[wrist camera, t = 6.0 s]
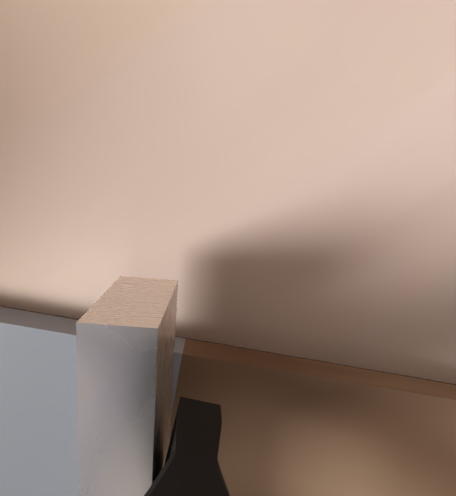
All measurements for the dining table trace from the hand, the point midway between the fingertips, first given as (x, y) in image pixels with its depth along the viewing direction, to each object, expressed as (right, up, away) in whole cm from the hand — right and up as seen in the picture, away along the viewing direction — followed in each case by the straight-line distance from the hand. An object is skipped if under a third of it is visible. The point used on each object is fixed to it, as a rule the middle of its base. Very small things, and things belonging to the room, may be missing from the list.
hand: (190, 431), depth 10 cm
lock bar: (-2, -2, +2) cm, 3 cm away
